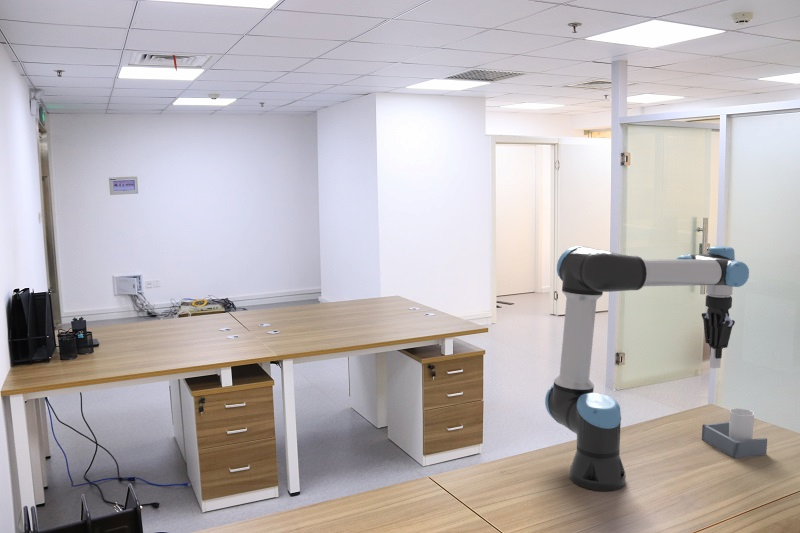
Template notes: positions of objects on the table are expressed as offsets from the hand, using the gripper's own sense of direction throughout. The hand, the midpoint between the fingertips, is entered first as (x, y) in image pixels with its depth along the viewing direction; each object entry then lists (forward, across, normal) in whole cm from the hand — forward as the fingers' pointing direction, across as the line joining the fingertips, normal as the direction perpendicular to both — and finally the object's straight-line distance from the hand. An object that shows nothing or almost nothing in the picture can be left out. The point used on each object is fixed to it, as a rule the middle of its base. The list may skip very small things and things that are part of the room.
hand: (714, 367), depth 213 cm
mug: (+23, -10, -2) cm, 25 cm away
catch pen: (+23, -9, -1) cm, 25 cm away
